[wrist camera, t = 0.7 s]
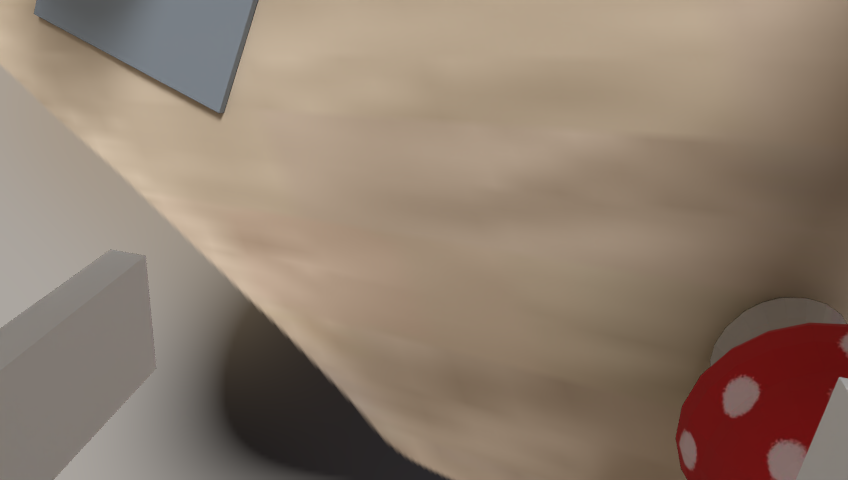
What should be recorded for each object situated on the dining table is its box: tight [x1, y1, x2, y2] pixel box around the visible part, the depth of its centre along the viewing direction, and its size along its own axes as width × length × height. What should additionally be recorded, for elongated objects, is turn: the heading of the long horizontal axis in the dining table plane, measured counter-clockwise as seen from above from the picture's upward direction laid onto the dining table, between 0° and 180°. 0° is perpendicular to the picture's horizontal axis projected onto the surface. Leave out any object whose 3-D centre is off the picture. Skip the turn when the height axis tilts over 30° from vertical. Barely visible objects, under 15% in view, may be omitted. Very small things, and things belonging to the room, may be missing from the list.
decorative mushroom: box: [676, 298, 848, 480], centre depth 30 cm, size 10×9×15 cm
